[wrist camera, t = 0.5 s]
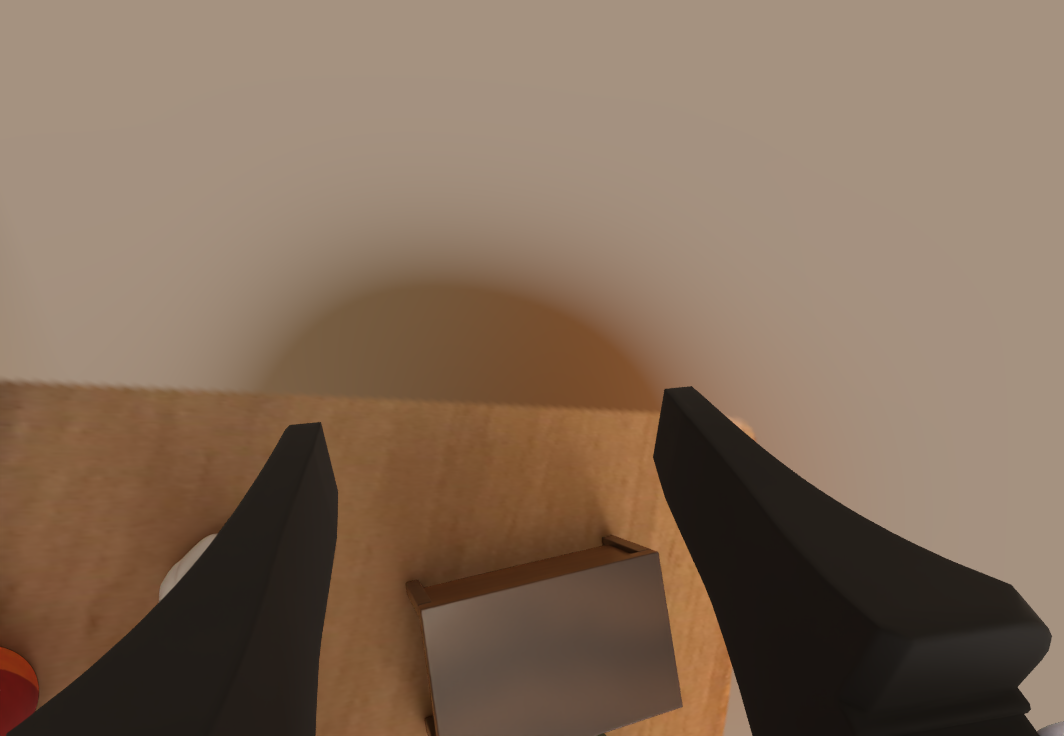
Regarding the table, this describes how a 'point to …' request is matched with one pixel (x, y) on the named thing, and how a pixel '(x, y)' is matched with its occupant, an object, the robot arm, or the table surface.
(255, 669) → the robot arm
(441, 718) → the desk
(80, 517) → the table surface
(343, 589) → the table surface
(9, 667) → the paper cup
